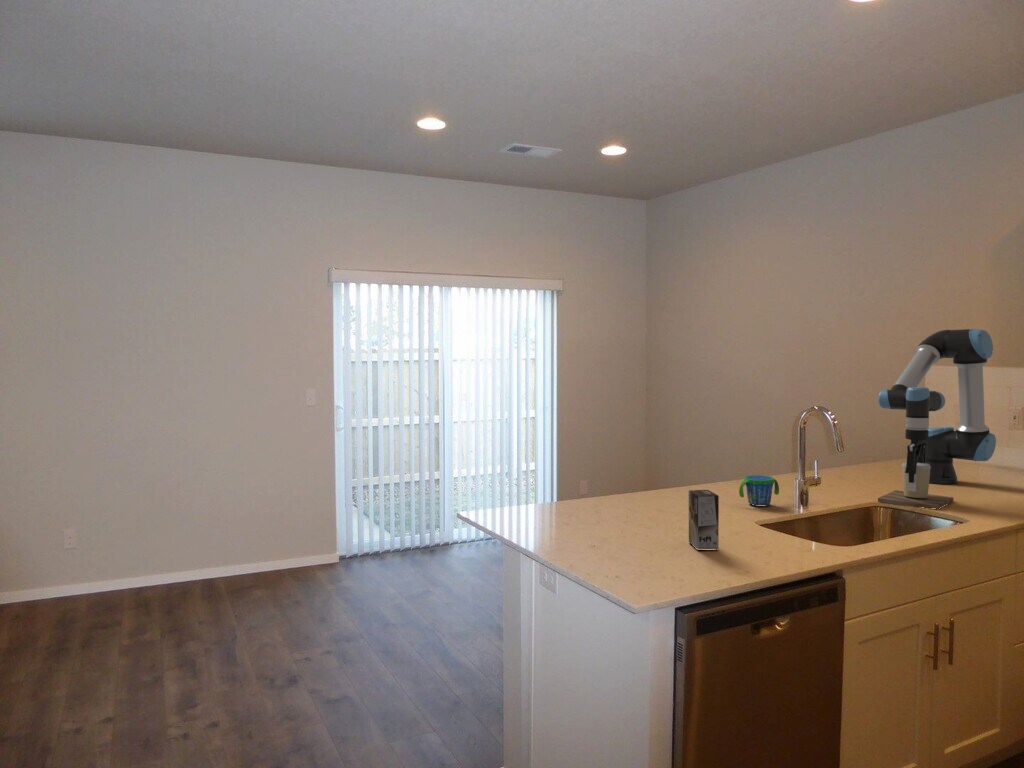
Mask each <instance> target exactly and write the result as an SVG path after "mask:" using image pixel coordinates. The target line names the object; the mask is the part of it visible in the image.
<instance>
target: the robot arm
mask: <svg viewBox="0 0 1024 768" xmlns="http://www.w3.org/2000/svg"><path fill="white" fill-rule="evenodd" d="M993 351H994V345H993V340H992V336H991V335H990V334H989V332H988V331H987V330H985V329H979V328H978V329H977V328H976V329H975V328H970V329H969V328H967V329H966V328H965V329H964V328H963V329H944V330H938V331H937V332H934V333H932V334H931V335H928V337H926V338H924V340H922V341H920V343H919V344H918V345H917V347H916V348H915V351H914V355H913V357H912V358H911V360H910V361H909V363H908V364H907V365H906V367H905V368H904V370H903V371H902V372H901V374H900V375H899V377H898V378H897V379H896V381H895V382H894V383H893V385H892V386H891V388H890V389H888V388H887V389H882V390H880V391H879V393H878V397H877V403H878V404H879V407H881V408H882V409H889V410H902V411H903V410H904V411H905V419H904V422H905V428H906V429H905V436H904V437H905V439H906V440H908V441H909V440H910V444H909V445H907V448H906V449H907V454H906V462H907V464H906V471H905V473H908V491H914V492H916V478H917V474H915V473H916V465H917V462H918V463H927V464H930V466H931V468H930V478H929V484H934V483H935V485H954V484H957V483H958V475H957V473H956V469H955V466H954V460H956V459H957V460H963V461H964V460H965V461H973V462H988V461H989V460H990V459H992V457H993V455H994V453H995V450H996V445H997V438H996V435H995V434H994V433H992V432H990V427H989V426H987V425H986V423H985V422H986V419H985V396H984V395H985V392H984V389H985V388H984V366H985V365H986V364H987V363H988V359H990V358H991V357H992V356H993ZM941 359H942V360H943V359H952V361H953V362H952V363H953V365H954V366H956V367H957V377H958V379H957V381H958V407H959V425H958V426H957V427H955V428H954V427H953V426H940V427H939V426H938V427H930V412H938V411H940V410H941V409H943V408H944V407H945V405H946V404H945V403H946V398H945V396H944V394H943V393H941V392H939V391H936V390H930V388H928V387H925V386H922V387H921V386H919V385H920V383H921V382H922V381H923V379H924V378H925V376H926V375H927V373H929V371H930V369H931V368H932V366H933V365H934V364H937V363H939V361H940V360H941Z"/></svg>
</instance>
